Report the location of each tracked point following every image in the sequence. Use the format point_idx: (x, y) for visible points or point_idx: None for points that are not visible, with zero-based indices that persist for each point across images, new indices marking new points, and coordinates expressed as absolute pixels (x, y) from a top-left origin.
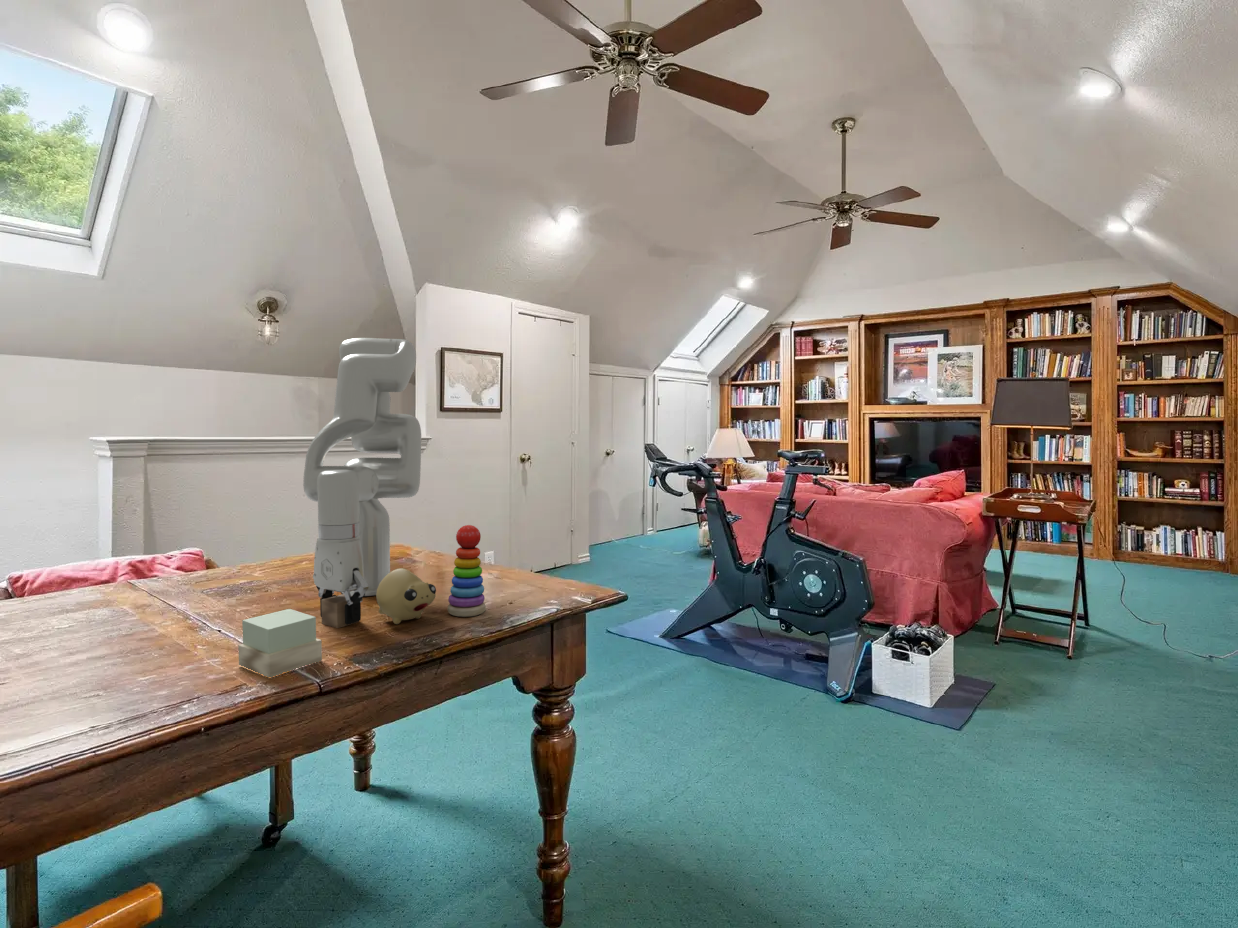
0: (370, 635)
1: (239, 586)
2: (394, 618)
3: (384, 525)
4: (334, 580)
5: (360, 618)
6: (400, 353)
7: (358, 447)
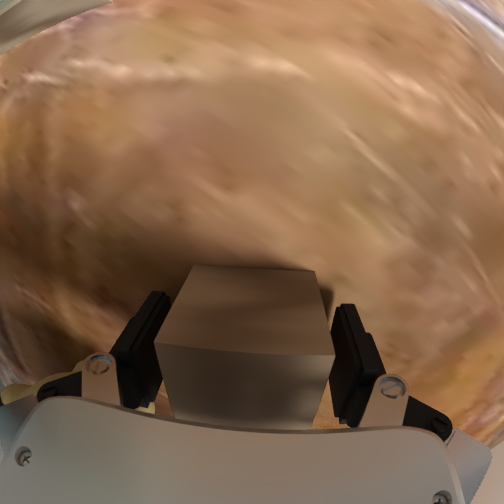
0: (46, 265)
1: None
2: (76, 369)
3: None
4: (94, 485)
5: None
6: None
7: None
